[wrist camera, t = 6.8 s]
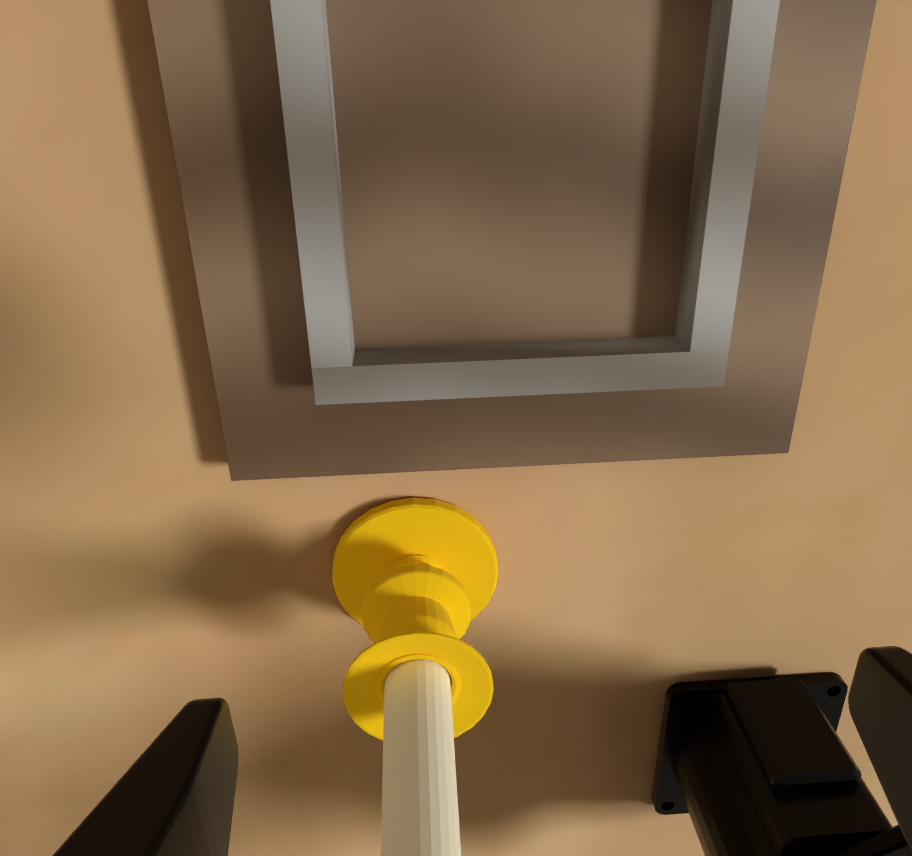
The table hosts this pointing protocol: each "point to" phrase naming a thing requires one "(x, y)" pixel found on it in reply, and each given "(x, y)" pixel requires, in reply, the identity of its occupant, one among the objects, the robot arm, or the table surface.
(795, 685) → the robot arm
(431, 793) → the candle
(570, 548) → the table surface
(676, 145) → the socket board
